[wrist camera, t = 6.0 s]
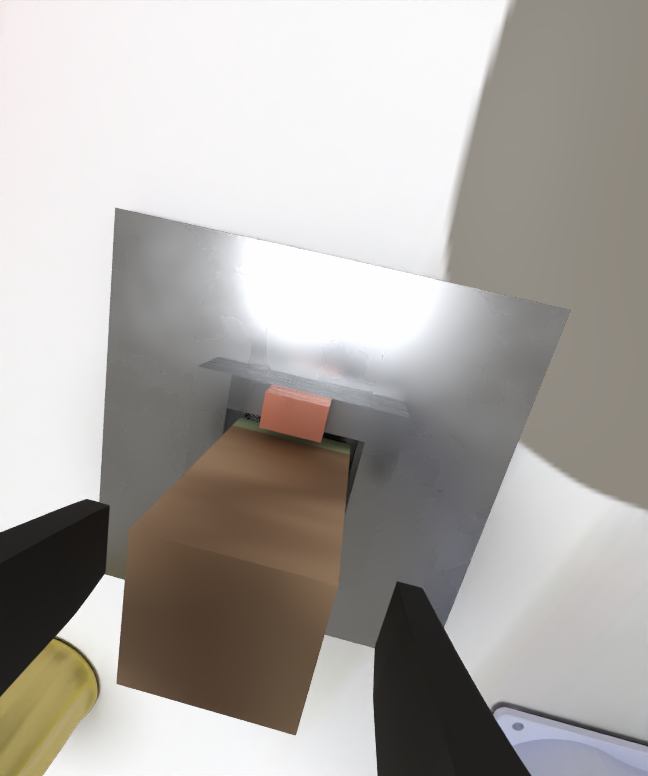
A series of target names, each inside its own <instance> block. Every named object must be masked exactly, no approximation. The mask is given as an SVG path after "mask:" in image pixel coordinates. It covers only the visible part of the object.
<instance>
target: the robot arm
mask: <svg viewBox="0 0 648 776" xmlns="http://www.w3.org/2000/svg"><path fill="white" fill-rule="evenodd" d="M109 511H110V505H107V504H103V503H100V502H96V501H92V500H88V499H85V500H83V501H80V502H77V503H74V504H71V505H69V506H66V507H63V508H61V509H58V510H56V511H53V512H51V513H48V514H46V515H43V516H41V517H38V518H36V519H33V520H31V521H28V522H26V523H23V524H21V525H18V526H16V527H13V528H10V529H8V530H5V531H3V532H0V697H1V696H2V695H3V694H4V692H5V691H6V690H7V689H8V688H9V687H10V686H11V685H12V684H13V683H14V681H15V680H16V679H17V678H18V677H19V676H20V675H21V674H22V673H23V672H24V670H25V669H26V668H27V667H28V666H29V665H30V664H31V663H32V662H33V661H34V659H35V658H36V657H37V656H38V655H39V654H40V653H41V652H42V651H43V650H44V648H45V647H46V646H47V645H48V644H49V643H50V642H51V641H52V639H53V638H54V637H55V636H56V635H57V634H58V633H59V632H60V631H61V629H62V628H63V627H64V626H65V625H66V624H67V623H68V622H69V620H70V619H71V618H72V617H73V616H74V615H75V613H76V612H77V611H78V610H79V608H80V607H81V606H82V604H83V603H84V602H85V600H86V599H87V598H88V596H89V595H90V593H91V592H92V591H93V589H94V588H95V586H96V585H97V584H98V582H99V581H100V579H101V578H102V577H103V575H104V574H105V572H106V559H107V543H108V527H109ZM373 704H374V722H375V739H376V756H377V772H378V776H648V746H644V745H641V744H637V743H633V742H630V741H626V740H623V739H619V738H615V737H612V736H608V735H605V734H601V733H597V732H594V731H590V730H586V729H583V728H579V727H576V726H572V725H568V724H565V723H561V722H558V721H554V720H550V719H547V718H543V717H540V716H536V715H532V714H529V713H525V712H522V711H518V710H514V709H511V708H507V707H501V708H498V709H497V710H496V711H495V712H494V714H492V712H491V711H490V709H489V707H488V706H487V704H486V702H485V701H484V699H483V697H482V696H481V694H480V692H479V690H478V689H477V687H476V685H475V683H474V682H473V680H472V678H471V676H470V675H469V673H468V671H467V670H466V668H465V666H464V664H463V663H462V661H461V659H460V657H459V655H458V653H457V652H456V650H455V648H454V646H453V644H452V642H451V641H450V639H449V637H448V635H447V633H446V631H445V629H444V628H443V626H442V624H441V622H440V620H439V618H438V616H437V614H436V612H435V610H434V609H433V607H432V605H431V603H430V601H429V599H428V597H427V595H426V593H425V592H424V590H423V588H421V587H417V586H413V585H410V584H406V583H402V582H398V581H397V582H396V585H395V588H394V591H393V594H392V597H391V600H390V603H389V606H388V609H387V612H386V615H385V618H384V621H383V624H382V627H381V630H380V633H379V636H378V639H377V641H376V644H375V658H374V687H373Z"/></svg>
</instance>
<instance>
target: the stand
mask: <svg viewBox="0 0 648 776" xmlns="http://www.w3.org/2000/svg"><path fill="white" fill-rule="evenodd" d="M570 311H571V310H569V309H565V308H560V307H556V306H551V305H546V304H542V303H538V302H533V301H529V300H524V299H520V298H516V297H511V296H506V295H502V294H498V293H493V292H489V291H484V290H480V289H475V288H471V287H467V286H462V285H457V284H453V283H449V282H444V281H440V280H435V279H431V278H426V277H422V276H418V275H413V274H409V273H404V272H400V271H395V270H391V269H386V268H382V267H377V266H373V265H369V264H364V263H360V262H355V261H351V260H346V259H342V258H337V257H333V256H328V255H324V254H320V253H315V252H311V251H306V250H302V249H297V248H293V247H288V246H284V245H279V244H275V243H270V242H266V241H262V240H257V239H253V238H248V237H244V236H239V235H235V234H230V233H226V232H221V231H217V230H213V229H208V228H204V227H199V226H195V225H190V224H186V223H181V222H177V221H172V220H168V219H163V218H159V217H155V216H150V215H146V214H141V213H137V212H132V211H128V210H123V209H119V208H115V223H114V242H113V260H112V279H111V297H110V316H109V335H108V353H107V372H106V390H105V409H104V428H103V446H102V465H101V483H100V503H103V504H107V505H110V511H109V527H108V543H107V559H106V572H105V574H106V575H110V576H113V577H117V578H121V579H124V580H125V574H126V562H127V549H128V537H129V529H130V528H131V527H132V526H133V525H134V524H135V523H136V522H137V521H138V520H139V519H140V518H141V517H142V516H143V515H144V514H145V513H146V512H147V511H148V510H149V509H150V508H151V507H152V506H153V505H154V504H155V503H156V502H157V501H158V500H159V499H160V498H161V497H162V496H163V495H164V494H165V493H166V492H167V491H168V490H169V489H170V488H171V487H172V486H173V485H174V484H175V483H176V482H177V481H178V480H179V479H180V478H181V477H182V476H183V475H184V474H185V473H186V472H187V471H188V470H189V469H190V468H191V467H192V466H193V465H194V464H195V463H196V462H197V461H198V460H199V459H200V458H201V457H202V456H203V455H204V454H205V453H206V452H207V451H208V450H209V449H210V448H211V447H212V446H213V445H214V444H215V442H216V441H217V440H218V439H219V438H220V437H221V436H222V435H223V434H224V433H225V432H226V431H227V430H228V429H229V428H230V427H231V426H232V425H233V424H234V423H235V422H236V421H237V420H238V419H239V418H240V417H241V418H245V415H246V413H249V414H253V415H257V416H261V419H260V425H259V428H263V429H267V430H271V431H275V432H279V433H283V434H287V435H291V436H295V437H299V438H304V439H308V440H312V441H316V442H320V443H321V441H322V437H323V434H324V432H326V433H330V434H334V435H338V436H342V437H346V438H350V439H354V440H358V444H357V447H356V451H355V455H354V459H353V462H352V466H351V470H350V474H349V477H348V482H347V493H346V505H345V516H344V527H343V539H342V550H341V562H340V573H339V584H338V589H337V592H336V596H335V599H334V603H333V606H332V610H331V613H330V617H329V620H328V624H327V627H326V631H325V635H329V636H332V637H336V638H340V639H343V640H347V641H351V642H354V643H358V644H362V645H365V646H369V647H373V648H375V644H376V641H377V639H378V636H379V633H380V630H381V627H382V624H383V621H384V618H385V615H386V612H387V609H388V606H389V603H390V600H391V597H392V594H393V591H394V588H395V585H396V582H397V581H398V582H402V583H406V584H410V585H413V586H417V587H421V588H423V590H424V592H425V593H426V595H427V597H428V599H429V601H430V603H431V605H432V607H433V609H434V610H435V612H436V614H437V616H438V618H439V620H440V622H441V624H442V626H443V628H444V626H445V623H446V621H447V618H448V616H449V613H450V611H451V608H452V606H453V603H454V601H455V598H456V596H457V593H458V591H459V588H460V586H461V583H462V581H463V578H464V576H465V573H466V571H467V568H468V566H469V563H470V561H471V558H472V556H473V553H474V551H475V548H476V546H477V543H478V541H479V538H480V536H481V533H482V531H483V528H484V526H485V523H486V521H487V518H488V516H489V513H490V511H491V508H492V506H493V503H494V501H495V498H496V496H497V493H498V491H499V488H500V486H501V483H502V481H503V478H504V476H505V473H506V471H507V468H508V466H509V463H510V461H511V458H512V456H513V453H514V451H515V448H516V446H517V443H518V441H519V438H520V436H521V433H522V431H523V428H524V425H525V423H526V421H527V418H528V416H529V413H530V411H531V408H532V406H533V403H534V401H535V398H536V395H537V393H538V391H539V388H540V386H541V383H542V381H543V378H544V376H545V373H546V371H547V368H548V366H549V363H550V361H551V358H552V356H553V353H554V351H555V348H556V346H557V343H558V341H559V338H560V336H561V333H562V331H563V328H564V326H565V323H566V321H567V318H568V316H569V313H570Z"/></svg>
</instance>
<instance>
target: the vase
mask: <svg viewBox="0 0 648 776" xmlns="http://www.w3.org/2000/svg"><path fill="white" fill-rule="evenodd" d="M97 694H98V687H97V681H96V678H95V675H94V672H93V670H92V669H91V667H90V666H89V664H88V663H87V662H86V660H85V659H84V658H83V657H82V656H81V655H80V654H79V653H78V652H77V651H75V650H74V649H73V648H71V647H70V646H68V645H66V644H65V643H63V642H61V641H58V640H56V639H52V641H51V642H50V643H49V644H48V645H47V646H46V647H45V648H44V650H43V651H42V652H41V653H40V654H39V655H38V656H37V657H36V658H35V659H34V661H33V662H32V663H31V664H30V665H29V666H28V667H27V668H26V669H25V670H24V672H23V673H22V674H21V675H20V676H19V677H18V678H17V679H16V680H15V681H14V683H13V684H12V685H11V686H10V687H9V688H8V689H7V690H6V691H5V692H4V694H3V695H2V696H1V697H0V776H43V774H44V773H45V772H46V770H47V769H48V767H49V766H50V765H51V763H52V762H53V760H54V759H55V757H56V756H57V754H58V753H59V751H60V750H61V749H62V747H63V746H64V744H65V743H66V741H67V740H68V738H69V736H70V735H71V733H72V732H73V730H74V729H75V727H76V726H77V724H78V723H79V722H80V721H81V720H82V719H83V717H85V716H86V715H87V714H88V712H89V711H90V710H91V709H92V707H93V706H94V704H95V701H96V699H97Z"/></svg>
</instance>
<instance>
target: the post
mask: <svg viewBox="0 0 648 776" xmlns="http://www.w3.org/2000/svg"><path fill="white" fill-rule="evenodd" d="M259 425H260V422H257V421H253V420H249V419H245V418H241V417H240V418H239V419H238V420H237V421H236V422H235V423H234V424H233V425H232V426H231V427H230V428H229V429H228V430H227V431H226V432H225V433H224V434H223V435H222V436H221V437H220V438H219V439H218V440H217V441H216V442H215V444H214V445H213V446H212V447H211V448H210V449H209V450H208V451H207V452H206V453H205V454H204V455H203V456H202V457H201V458H200V459H199V460H198V461H197V462H196V463H195V464H194V465H193V466H192V467H191V468H190V469H189V470H188V471H187V472H186V473H185V474H184V475H183V476H182V477H181V478H180V479H179V480H178V481H177V482H176V483H175V484H174V485H173V486H172V487H171V488H170V489H169V490H168V491H167V492H166V493H165V494H164V495H163V496H162V497H161V498H160V499H159V500H158V501H157V502H156V503H155V504H154V505H153V506H152V507H151V508H150V509H149V510H148V511H147V512H146V513H145V514H144V515H143V516H142V517H141V518H140V519H139V520H138V521H137V522H136V523H135V524H134V525H133V526H132V527H131V528H130V529H129V537H128V549H127V562H126V574H125V586H124V598H123V611H122V623H121V635H120V647H119V659H118V672H117V684H119V685H123V686H126V687H129V688H133V689H136V690H140V691H143V692H147V693H150V694H154V695H157V696H161V697H164V698H168V699H171V700H175V701H178V702H182V703H185V704H188V705H192V706H195V707H199V708H202V709H206V710H209V711H213V712H216V713H220V714H223V715H227V716H230V717H234V718H237V719H240V720H244V721H247V722H251V723H254V724H258V725H261V726H265V727H268V728H272V729H275V730H279V731H282V732H286V733H289V734H292V735H296V733H297V729H298V726H299V722H300V719H301V715H302V712H303V708H304V705H305V701H306V698H307V694H308V691H309V687H310V684H311V680H312V676H313V673H314V669H315V666H316V662H317V659H318V655H319V652H320V648H321V645H322V641H323V638H324V634H325V631H326V627H327V624H328V620H329V617H330V613H331V610H332V606H333V603H334V599H335V596H336V592H337V589H338V584H339V573H340V562H341V550H342V539H343V527H344V516H345V505H346V493H347V482H348V471H349V459H350V448H351V445H350V444H346V443H342V442H338V441H334V440H330V439H326V438H322V441H321V443H320V442H316V441H312V440H308V439H304V438H299V437H295V436H291V435H287V434H283V433H279V432H275V431H271V430H267V429H263V428H259Z"/></svg>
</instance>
